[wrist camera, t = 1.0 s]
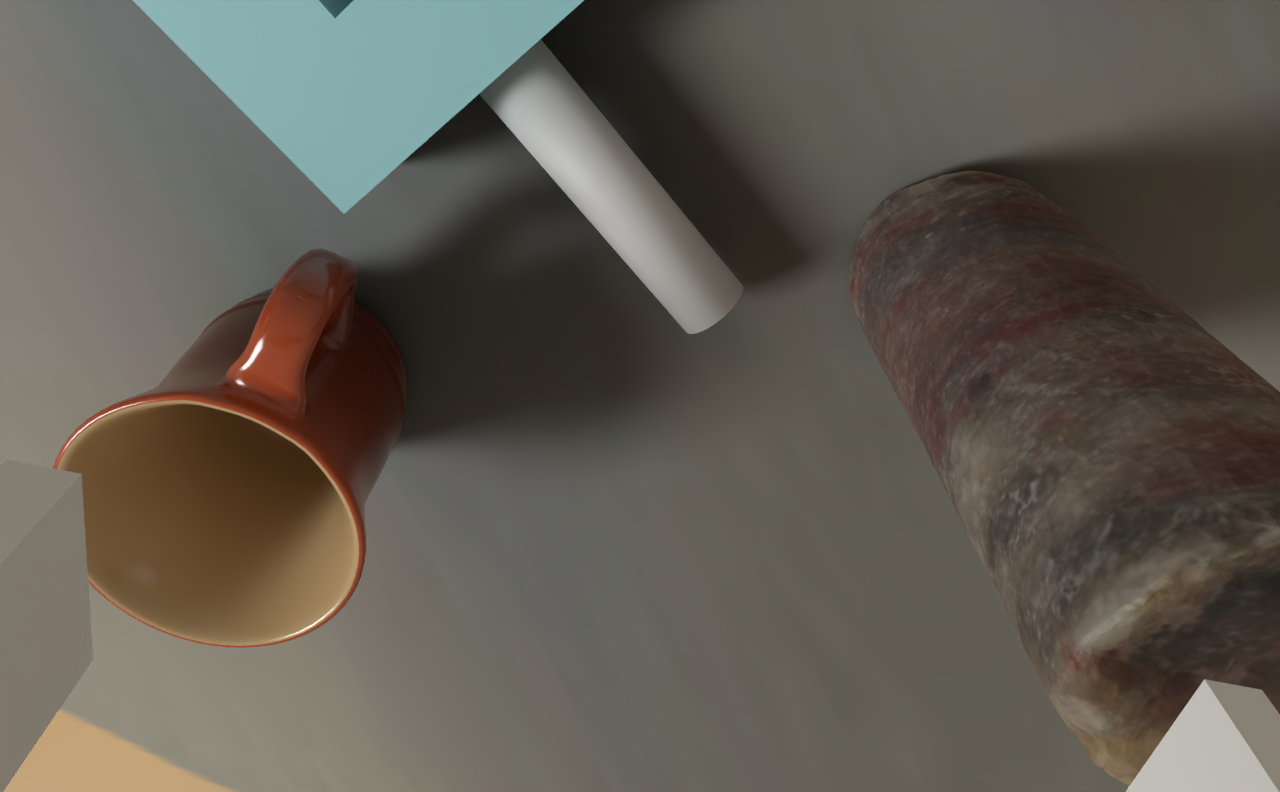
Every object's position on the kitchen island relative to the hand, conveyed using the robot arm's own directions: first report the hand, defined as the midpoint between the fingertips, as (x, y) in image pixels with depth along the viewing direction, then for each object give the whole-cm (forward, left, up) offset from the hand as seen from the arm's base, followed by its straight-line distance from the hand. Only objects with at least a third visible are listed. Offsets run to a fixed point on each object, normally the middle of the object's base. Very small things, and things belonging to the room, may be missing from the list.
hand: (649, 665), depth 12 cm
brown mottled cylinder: (+10, +6, -24) cm, 26 cm away
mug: (-2, -13, -24) cm, 28 cm away
